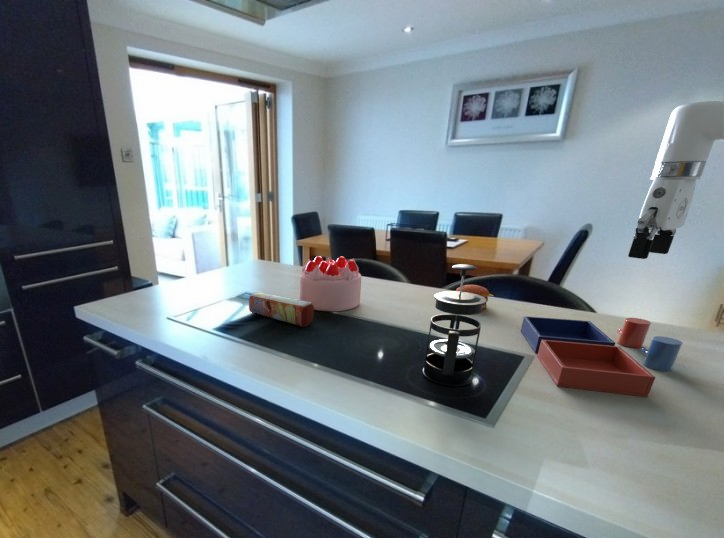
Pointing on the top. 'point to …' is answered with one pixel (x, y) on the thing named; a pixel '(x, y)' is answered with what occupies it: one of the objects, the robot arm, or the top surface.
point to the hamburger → (476, 292)
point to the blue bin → (562, 331)
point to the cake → (331, 284)
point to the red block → (633, 332)
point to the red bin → (594, 368)
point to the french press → (453, 336)
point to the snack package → (282, 308)
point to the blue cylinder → (661, 353)
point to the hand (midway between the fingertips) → (647, 255)
